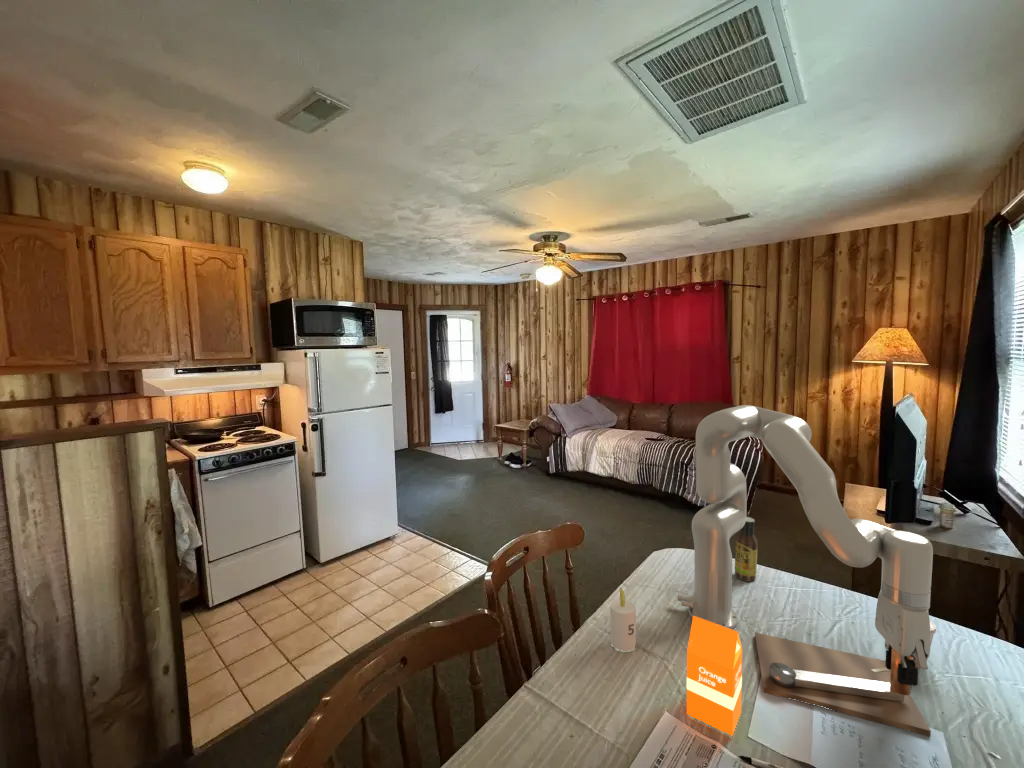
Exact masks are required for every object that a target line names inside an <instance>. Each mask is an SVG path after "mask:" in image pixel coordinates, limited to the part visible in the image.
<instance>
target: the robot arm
mask: <svg viewBox="0 0 1024 768" xmlns="http://www.w3.org/2000/svg"><path fill="white" fill-rule="evenodd" d="M812 435H813V433H812V429H811V427H810V426H809V424H808V423H807V422H806V421H805V420H804V419H802V418H800V417H798V416H795V415H792V414H788V413H784V412H779V411H775V410H772V409H771V410H770V409H768V408H763V407H760V406H759V407H758V406H755V405H750V404H748V405H747V404H743V405H737V406H734V407H728V408H723V409H721V410H719V411H718V410H717V411H714V412H712V413H711V414H708V415H707V416H705V417H704V418H703V419H702V420H701V421H700V422H699V423H698V426H697V428H696V431H695V449H696V450H695V451H696V452H695V453H696V455H695V464H696V465H695V468H696V469H695V476H696V477H695V482H696V484H695V485H696V486H695V487H696V493H697V495H698V497H699V498H700V499H701V500H702V501H703V502H705V503H707V504H708V505H706V506H704V507H702V508H700V510H698V511H697V512H696V513H695V514H694V516H693V518H692V520H691V532H692V538H693V546H694V551H693V552H694V581H693V582H694V586H693V587H694V591H693V594H692V595H685V594H681V593H677V601H678V602H681V606H683V607H687V608H688V609H687V610H688V616H690V618H691V620H693V616H696V617H698V618H701V619H704V620H707V621H710V622H712V623H715V624H718V625H721V626H723V627H726V628H729V629H732V630H733V629H734V628H736V627H737V625H738V623H739V622H738V621H739V619H738V615H737V613H736V612H735V611H734V610H733V608H732V607H733V605H732V600H733V596H732V595H733V553H732V549H731V545H730V540H731V537H733V536H734V535H735V534H737V533H738V532H739V531H741V529H742V528H743V526H744V525H745V522H746V517H747V511H748V510H747V479H746V476H745V474H744V472H743V471H742V469H741V468H739V467H738V466H737V465H736V464H734V463H731V459H732V457H731V451H730V448H729V443H732V442H734V441H739V440H742V439H745V438H748V437H751V438H755V439H758V440H761V443H762V445H763V446H764V448H765V449H766V451H767V452H768V454H770V456H771V457H772V459H774V461H775V462H776V464H777V465H778V467H779V468H780V469H781V471H782V472H783V474H784V475H785V476H786V477H787V479H788V480H789V482H791V484H792V486H794V489H796V491H797V493H798V494H797V495H798V498H799V501H800V503H801V505H802V508H803V510H804V513H805V515H806V518H807V520H808V521H809V523H810V525H811V527H812V528H813V530H814V532H815V533H816V534H817V536H818V537H819V539H820V540H821V541H822V542H823V544H824V545H825V546H826V548H827V549H828V550H829V551H830V553H831V554H832V555H833V556H834V557H835V558H836V559H837V560H839V561H840V562H842V563H843V564H844V565H847V566H849V567H853V568H865V567H869V566H870V565H872V564H873V563H874V561H875V560H876V559H877V558H880V559H881V582H880V584H881V585H880V591H879V593H878V595H877V601H876V609H875V620H874V627H875V629H876V631H878V633H879V634H880V635H881V636H882V638H883V639H884V640H885V641H884V647H885V649H886V651H885V661H886V663H885V666H886V668H887V669H889V670H891V655H892V647H893V649H894V650H895V651H896V652H897V653H899V654H900V662H901V664H898V674H897V681H898V682H899V683H900V684H905V685H911V686H914V687H915V686H918V680H919V678H918V677H919V671H920V670H929V666H928V663H927V662H928V659H927V658H929V657H930V654H931V647H932V643H931V634H930V621H931V620H930V613H929V609H930V608H931V596H932V594H931V592H932V591H931V590H932V576H933V575H932V573H933V558H934V557H933V556H934V548H933V544H932V542H931V541H930V540H929V539H928V538H926V537H925V536H923V535H920V534H917V533H915V532H910V531H905V530H897V529H893V528H891V527H888V526H885V525H883V524H879V523H877V522H874V521H871V520H869V519H865V518H853V519H851V518H850V517H849V515H848V514H847V513H846V510H845V509H844V508H843V505H842V503H841V501H840V498H839V496H838V489H837V480H836V476H835V472H834V471H833V470H832V469H831V467H830V466H829V465H828V464H827V462H826V461H825V460H824V459H823V457H821V455H820V453H819V452H818V451H817V450H816V449H815V448H814V447H813V445H812V443H811V442H810V441H811V440H812ZM930 646H931V647H930ZM907 656H911V657H913V660H910V659H909V660H907ZM926 659H927V661H926Z"/></svg>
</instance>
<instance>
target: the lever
mask: <svg viewBox="0 0 1024 768" xmlns="http://www.w3.org/2000/svg"><path fill="white" fill-rule="evenodd" d="M909 659H910V660H912V657H911V656H907V660H909ZM898 664H901V662H900V654H899V653H897V652H896V651H895V650H894V649H893V647H892V655H891V675H890V683H887V682H880V681H873V680H866V679H859V678H851V677H844V676H837V675H830V674H823V673H816V672H808V671H801V670H794V669H792V668H790V667H789V666H787V665H785V664H782V663H772V664H770V671H769V676H770V678H771V680H772V681H773V682H774V683H776V684H777V685H779V686H782V687H785V688H793V687H795V686H800V687H806V688H813V689H820V690H827V691H834V692H840V693H847V694H854V695H861V696H867V697H874V698H881V699H888V700H894V701H901V702H904V697H905V695H911V690H912V689H911V688H912V685H905V684H900V683H899V682H898V681H897V674H898Z"/></svg>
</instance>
